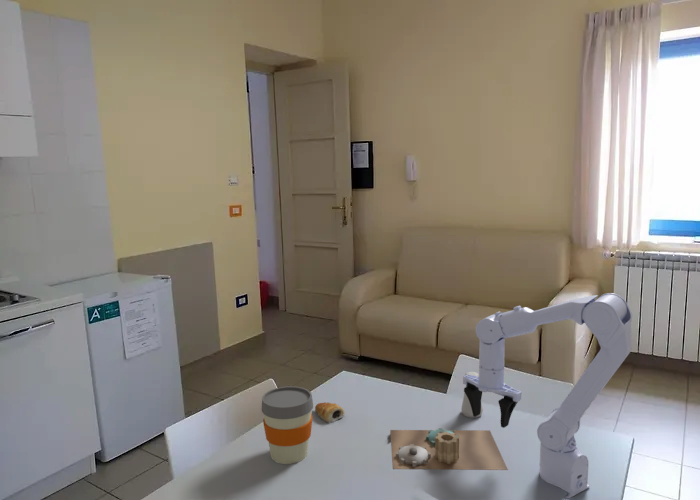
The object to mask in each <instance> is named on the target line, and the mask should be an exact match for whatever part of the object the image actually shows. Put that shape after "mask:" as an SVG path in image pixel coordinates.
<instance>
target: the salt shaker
mask: <svg viewBox="0 0 700 500" xmlns="http://www.w3.org/2000/svg"><path fill="white" fill-rule="evenodd" d="M465 375H472V376H477V377H479V372H476V371H468V372H466V373H465V374H464V376H465ZM466 387H467V385H465V388H466ZM482 404H483V403H482V402H481V412H480V414H479V415H478V416H476V417H475V416H473V412H472V408H471V405H470V402H469V399H468V397H467V395H466V394H465V392H464V394H463V399H462V404H461V413H462V414H463V416H465V417H466V418H471V419H472V418H473V419H476V418H479V417H481V416H482V415H483V410H484V409H483V406H482Z"/></svg>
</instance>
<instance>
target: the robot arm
mask: <svg viewBox="0 0 700 500" xmlns="http://www.w3.org/2000/svg"><path fill="white" fill-rule="evenodd" d="M598 296H599V295H597V294H596V295H595V294H593V295H588V296H584V297H579V298H576V299H575V298H574V299H570V300H568V301H564V302H561V303H558V304H554V305H550V306H547V307H543V308H540V309H535V310H533V309H532V308H530V307H526V306H523V307H522V306H521V305H517V306H514V307H513V309H512V310H510V311H509V310H508V311H505V312H501V311H497V312H495V313H494V314H491V315H489V316H486V317H484V318H483V319H481V320H479V322H477V324H476V325H475V335H476V337H477V338H478V339H479V345H478V347H479V349H478V350H479V353H478V359H479V360H478V374H479V377H477V376H472V375H465V374H464V376H463V377H462V384H463V385H465V387H464V388H463V392H464V393H465V394H466V395H467V397H468V399H469V402H470V405H471V408H472V412H473V416H475V417H476V416H478V415H479V414H480V412H481V403H482V399H483V398H482V397H483V393H493V394H495V395H498V396H502V398H501V399H499V400H497V401H498V405H499V410H500V427H501V428H503V429H504V428H506V427H508V426H509V424H510V418H511V416H512V414H513V411H514V409H515V408H516V406H517V404H518V403H519V402H520V401H522V390H518V389H516V388H514V387H512V386H510V385H508V384H507V383H505V354H506V353H505V352H506V351H505V350H506V349H505V348H506V347H505V345H506V339H509V338H514V337H518V336H523V335H527V334H532V333H534V332H536V329H537V327H538V326H540V325H541V326H542V325H546V324H551V323H556V322H561V321H568V320H572V321H573V322H575V323H577V324H578V325H581V326H582V325H583V324H585V326H586V327H587V328H588V329H589V331H590V332H591V333H592V334H593V336H595V338H596V339H597V342H598V344H599V347H600V350H599V351H598V353H597V354H596V355H595V357H594V358H593V359H592V360H591V362H590V363H589V365H588V367H587V368H586V370H584V372H583V373H582V375H581V376H580V377H579V379H578V380H577V382H576V383H575V384H574V386H573V387H572V389H571V390H570V391H569V393H568V394H567V396H565V399H564V400H563V401H562V403H561V404H560V405H559V407H556V408H555V409H553V411H552V412H551V414H550V415H548V417H546V419H545V420H544V421H543V422H541V423H540V424H539V425H538V427H537V429H536V430H537V431H536V432H537V433H536V434H537V435H536V436H537V438H538V440H539V442H540V448H539V450H540V451H539V452H540V453H539V473H538V474H539V477H540V478H541V479H542V480H543V481H544V482H546V483H547V484H551V485H552V486H554V487H555V486H556V487H558V488H560V489H562V490H563V491H564V492H566V493H567V494H566V495H565V496H564V497H563V498H564V499H565V500H567V499H570V498H572V497H574V496H576V495H578V494H579V493H581V492H583V491H585V490H587V489H589V488H590V484H588V483H589V482H588V480H589V477H588V476H589V458H588V457H587V455H585V454H584V453H583V452H581V451H580V449H578V446H577V443H576V439H575V434H577V432H578V431H579V430H580V427H581V426H580V425H581V419H582V418H583V416H584V415H585V413H586V412H587V410H589V408H590V407H591V405H592V404H593V402H594V401H595V400H596V399H597V397H598V396H599V395H600V393H601V391H602V390H603V389H604V387H606V385H607V384H608V382H609V381H610V380H611V379H612V377H613V376H614V375H615V373H616V372H617V371H618V369H619V368H620V367H621V365H622V364H623V362H625V360H626V358H627V357H628V356H629V355H630V354H631V351H632V350H633V349H632V346H633V345H632V341H633V340H632V319H633V314H632V312H631V309H630V307H629V305H628V302H627V300H625V298H624V297H622V296H621V295H619V294H617V293H613V292H608V293H604V294H601V295H600V296H599V297H598ZM596 298H597V299H596ZM466 385H467V387H466Z"/></svg>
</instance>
